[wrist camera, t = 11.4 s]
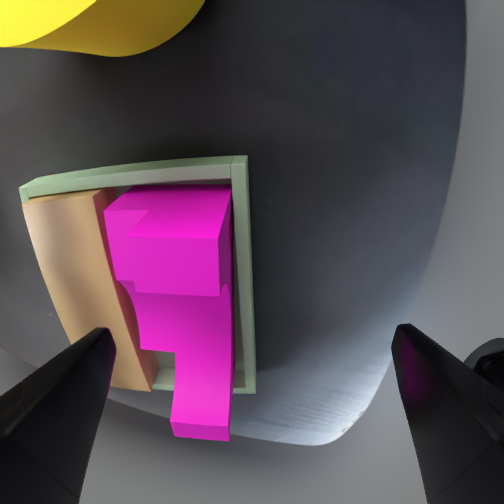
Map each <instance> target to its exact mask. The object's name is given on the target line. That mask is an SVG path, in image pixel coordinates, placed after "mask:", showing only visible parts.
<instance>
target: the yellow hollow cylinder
mask: <svg viewBox="0 0 504 504" xmlns="http://www.w3.org/2000/svg"><path fill="white" fill-rule="evenodd" d="M204 2H205V0H0V47H22V48H40V49H52V50H63V51H72V52H80V53H88V54H95V55H102V56H109V57H122V56H130V55H134V54H138V53H142V52H145V51H147V50H150V49H152V48H155V47H157V46H159V45H160V44H162V43H164V42H166V41H167V40H169V39H170V38H172V37H173V36H175V35H176V34H177V33H179V32H180V31H181V30H182V29H183V28H184V27H185V26H186V25H187V24H188V23H189V22H190V21H191V20H192V19H193V18H194V17H195V15H196V14H197V13H198V11H199V10H200V8H201V7H202V5H203V3H204Z"/></svg>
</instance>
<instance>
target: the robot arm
mask: <svg viewBox="0 0 504 504" xmlns="http://www.w3.org/2000/svg"><path fill="white" fill-rule="evenodd" d="M391 351H392V356H393V361H394V366H395V370H396V376H397V382H398V387H399V392H400V395H401V399H402V402H403V406H404V409H405V413H406V416H407V420H408V424H409V427H410V431H411V435H412V438H413V442H414V446H415V450H416V454H417V458H418V462H419V467H420V471H421V475H422V480H423V484H424V489H425V494H426V498H427V503H428V504H504V351H501V352H497V353H493V354H489V355H484V356H481V357H480V358H479V359H478V361H477V363H476V365H475V367H474V368H473V370H472V369H471V368H469V367H468V366H467V365H465V364H464V363H463V362H462V361H460V360H459V359H457V358H456V357H455V356H454V355H452V354H451V353H450V352H448V351H447V350H445V349H444V348H443V347H441V346H440V345H439V344H438V343H436V342H435V341H433V340H432V339H431V338H429V337H428V336H426V335H425V334H424V333H422V332H421V331H420V330H418V329H417V328H416V327H414V326H413V325H411V324H400V325H398V326H397V328H396V331H395V335H394V338H393V341H392V345H391ZM116 353H117V348H116V344H115V342H114V339H113V336H112V334H111V331H110V329H109V328H107V327H96V328H95V329H93V330H92V331H90V332H89V333H87V334H86V335H85V336H83V337H82V338H80V339H79V340H78V341H76V342H75V343H73V344H72V345H71V346H69V347H68V348H66V349H65V350H64V351H62V352H61V353H59V354H58V355H57V356H55V357H54V358H52V359H51V360H50V361H48V362H47V363H46V364H44V365H43V366H41V367H40V368H39V369H37V370H36V371H35V372H33V373H32V374H30V375H29V376H28V377H26V378H25V379H24V380H22V382H20V383H18V384H17V385H16V386H14V387H13V388H11V389H10V390H9V391H7V392H6V393H4V394H3V395H2V396H0V504H79V501H80V500H79V499H80V495H81V491H82V486H83V482H84V478H85V474H86V470H87V466H88V462H89V458H90V454H91V450H92V447H93V443H94V439H95V436H96V432H97V429H98V425H99V422H100V418H101V415H102V412H103V408H104V405H105V402H106V399H107V395H108V392H109V387H110V382H111V377H112V372H113V368H114V363H115V358H116Z"/></svg>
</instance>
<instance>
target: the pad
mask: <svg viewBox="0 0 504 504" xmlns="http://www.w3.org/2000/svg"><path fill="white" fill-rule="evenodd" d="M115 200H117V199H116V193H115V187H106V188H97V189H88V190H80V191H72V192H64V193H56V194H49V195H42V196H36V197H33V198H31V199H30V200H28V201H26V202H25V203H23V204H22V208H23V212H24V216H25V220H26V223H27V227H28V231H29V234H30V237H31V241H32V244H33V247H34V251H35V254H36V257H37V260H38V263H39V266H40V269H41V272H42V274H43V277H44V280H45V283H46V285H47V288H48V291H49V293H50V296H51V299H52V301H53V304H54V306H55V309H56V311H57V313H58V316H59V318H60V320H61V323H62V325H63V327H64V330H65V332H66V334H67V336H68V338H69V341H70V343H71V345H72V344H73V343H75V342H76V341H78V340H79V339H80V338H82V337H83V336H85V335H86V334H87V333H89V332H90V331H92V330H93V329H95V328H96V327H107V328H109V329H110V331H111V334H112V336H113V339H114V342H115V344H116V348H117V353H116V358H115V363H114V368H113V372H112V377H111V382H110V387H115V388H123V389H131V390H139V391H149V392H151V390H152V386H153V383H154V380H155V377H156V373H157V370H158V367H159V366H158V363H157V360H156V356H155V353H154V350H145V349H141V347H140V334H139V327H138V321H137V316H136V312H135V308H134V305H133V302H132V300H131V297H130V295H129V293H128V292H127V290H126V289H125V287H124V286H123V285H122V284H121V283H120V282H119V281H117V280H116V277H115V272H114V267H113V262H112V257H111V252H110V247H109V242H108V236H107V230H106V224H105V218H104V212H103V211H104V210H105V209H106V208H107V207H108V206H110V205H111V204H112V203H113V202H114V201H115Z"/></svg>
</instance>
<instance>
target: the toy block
mask: <svg viewBox="0 0 504 504" xmlns="http://www.w3.org/2000/svg"><path fill="white" fill-rule="evenodd" d="M103 212H104V218H105V224H106V230H107V236H108V242H109V247H110V252H111V257H112V262H113V267H114V272H115V277H116V280H117V281H119V282H120V283H121V284H122V285H123V286H124V287H125V289H126V290H127V292H128V293H129V295H130V297H131V300H132V302H133V305H134V308H135V312H136V316H137V321H138V327H139V334H140V347H141V349H145V350H154V351H165V352H175V385H174V397H173V406H172V413H171V419H170V423H171V426H172V429H173V432H174V435H175V436H179V437H187V438H197V439H208V440H222V441H229V434H230V422H231V410H232V398H233V386H234V374H235V325H234V255H233V197H232V184H168V185H134V186H132V187H131V188H130V189H129V190H127V191H126V192H125V193H124V194H123V195H121V196H120V197H119V198H118V199H117V200H115V201H114V202H113V203H112V204H111V205H110V206H108V207H107V208H106V209H105V210H104V211H103Z"/></svg>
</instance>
